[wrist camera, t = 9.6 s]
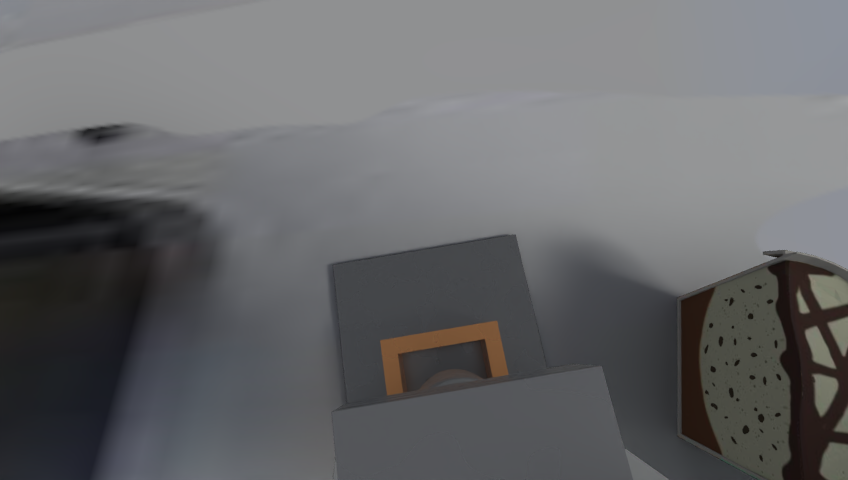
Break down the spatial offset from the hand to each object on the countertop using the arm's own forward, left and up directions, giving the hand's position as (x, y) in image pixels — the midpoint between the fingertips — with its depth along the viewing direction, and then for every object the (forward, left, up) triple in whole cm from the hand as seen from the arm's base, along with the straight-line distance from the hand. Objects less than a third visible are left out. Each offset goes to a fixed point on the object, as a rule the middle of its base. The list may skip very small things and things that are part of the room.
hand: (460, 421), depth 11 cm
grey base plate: (0, +1, -17) cm, 17 cm away
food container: (-19, +3, -18) cm, 26 cm away
